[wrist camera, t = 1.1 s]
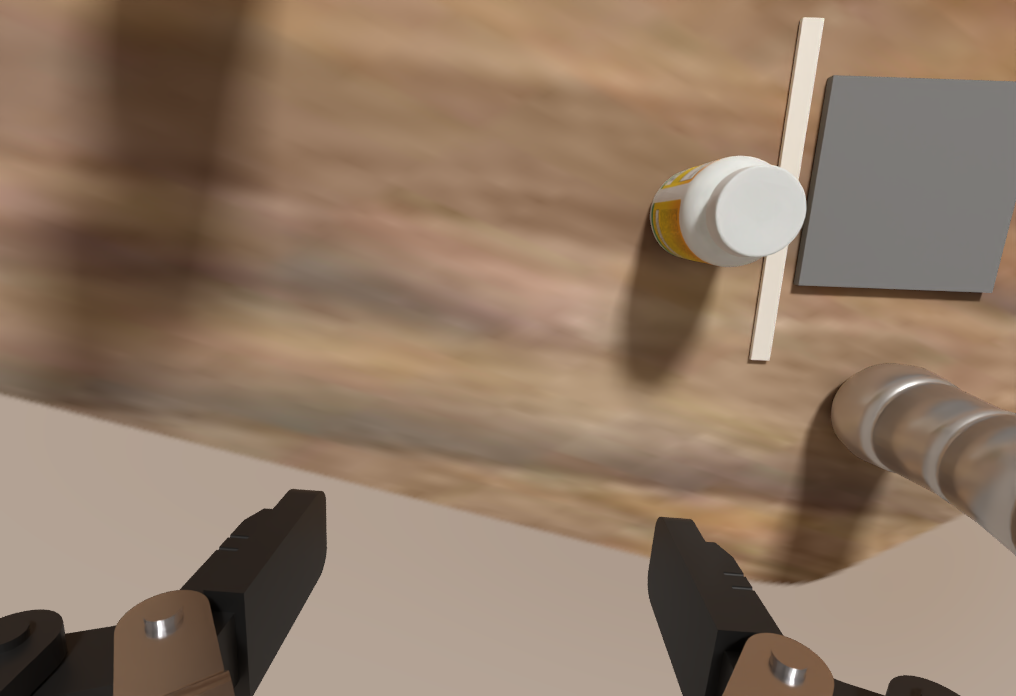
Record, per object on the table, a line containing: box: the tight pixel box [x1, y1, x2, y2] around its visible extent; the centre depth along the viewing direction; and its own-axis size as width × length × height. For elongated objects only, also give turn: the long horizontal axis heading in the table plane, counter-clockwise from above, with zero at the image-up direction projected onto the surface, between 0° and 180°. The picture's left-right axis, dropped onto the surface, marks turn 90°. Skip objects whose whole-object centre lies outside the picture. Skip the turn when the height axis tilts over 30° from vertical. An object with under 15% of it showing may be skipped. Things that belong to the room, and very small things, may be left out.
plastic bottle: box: [831, 363, 1016, 555], centre depth 25 cm, size 6×7×20 cm
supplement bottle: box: [650, 156, 806, 267], centre depth 27 cm, size 5×5×10 cm
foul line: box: [749, 17, 824, 361], centre depth 31 cm, size 20×1×1 cm, turn 178°
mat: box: [794, 75, 1016, 293], centre depth 31 cm, size 12×12×1 cm
